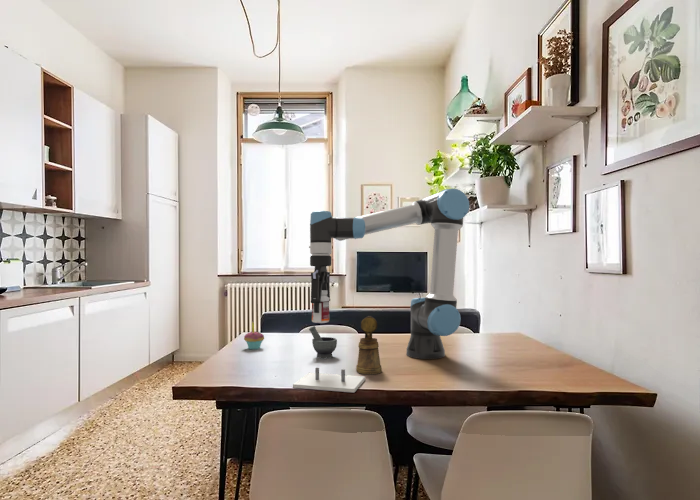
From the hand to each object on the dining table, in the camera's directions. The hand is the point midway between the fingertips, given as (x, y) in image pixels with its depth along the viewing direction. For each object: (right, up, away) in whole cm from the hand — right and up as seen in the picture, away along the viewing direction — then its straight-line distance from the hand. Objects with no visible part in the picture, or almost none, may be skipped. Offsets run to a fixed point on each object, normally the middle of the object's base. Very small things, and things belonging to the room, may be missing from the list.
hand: (320, 320), depth 154 cm
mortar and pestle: (0, -18, +19) cm, 26 cm away
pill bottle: (0, -1, 0) cm, 1 cm away
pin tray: (+4, -17, -18) cm, 25 cm away
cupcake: (-31, -18, +36) cm, 51 cm away
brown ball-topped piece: (+17, -17, -1) cm, 24 cm away
